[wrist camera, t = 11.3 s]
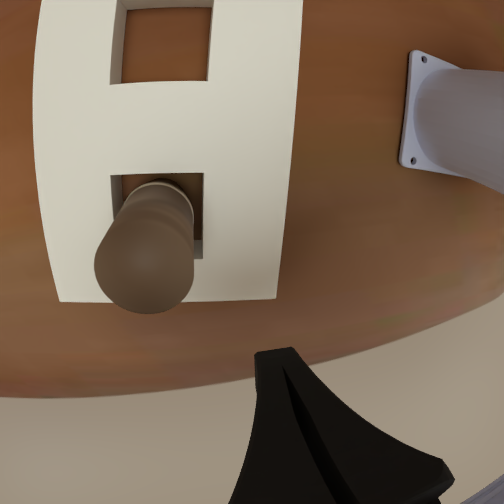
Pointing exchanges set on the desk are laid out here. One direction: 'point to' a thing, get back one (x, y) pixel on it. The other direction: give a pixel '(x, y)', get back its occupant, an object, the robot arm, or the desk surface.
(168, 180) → the peg
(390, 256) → the desk surface
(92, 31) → the board
